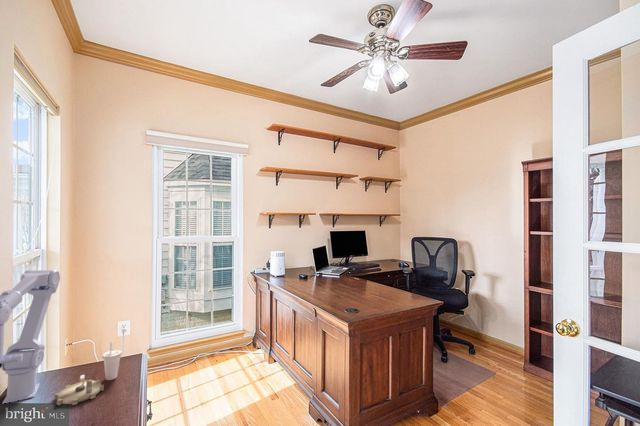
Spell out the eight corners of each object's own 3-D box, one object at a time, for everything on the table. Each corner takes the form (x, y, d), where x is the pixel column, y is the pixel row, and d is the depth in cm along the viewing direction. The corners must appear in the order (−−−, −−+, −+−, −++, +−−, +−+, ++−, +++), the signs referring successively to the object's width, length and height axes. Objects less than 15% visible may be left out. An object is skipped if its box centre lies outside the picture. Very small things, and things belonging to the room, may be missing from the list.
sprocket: (44, 400, 104) (45, 384, 104) (86, 380, 117) (87, 366, 117) (71, 409, 100) (72, 392, 100) (112, 387, 113) (113, 372, 113)
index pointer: (80, 381, 117) (80, 375, 117) (84, 380, 117) (84, 374, 118) (79, 385, 114) (80, 378, 114) (83, 384, 115) (84, 378, 115)
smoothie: (100, 377, 120) (101, 341, 121) (119, 371, 125) (120, 337, 125) (102, 383, 116) (104, 346, 116) (122, 378, 120) (123, 342, 120)
